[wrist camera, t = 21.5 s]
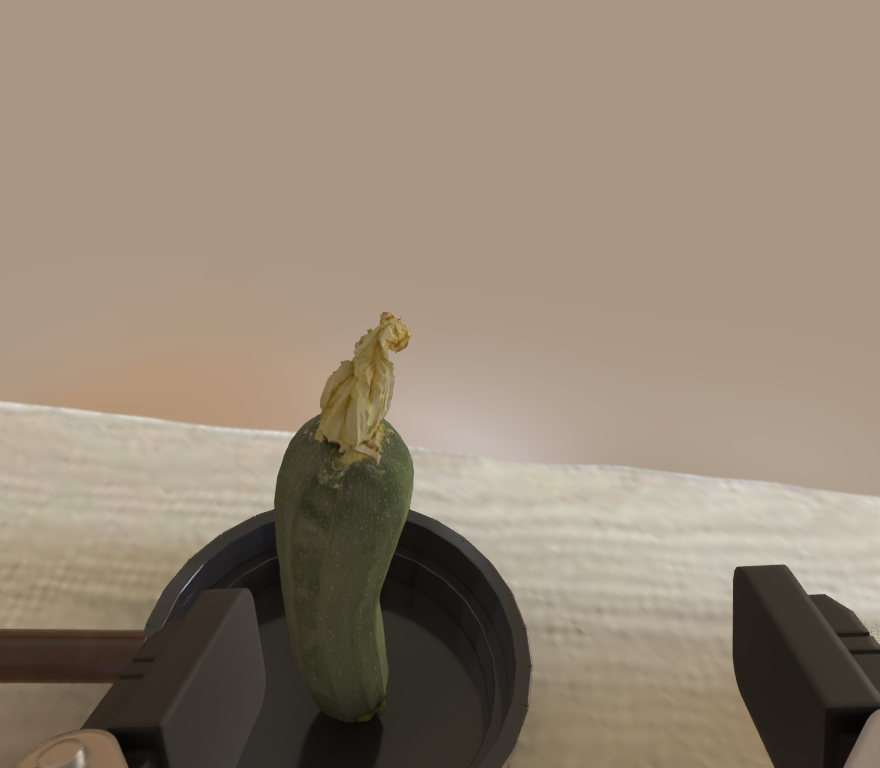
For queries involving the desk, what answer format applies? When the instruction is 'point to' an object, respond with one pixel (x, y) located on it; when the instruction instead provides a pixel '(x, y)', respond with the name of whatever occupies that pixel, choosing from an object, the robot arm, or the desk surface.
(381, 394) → the vegetable
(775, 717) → the robot arm
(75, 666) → the pan handle
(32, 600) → the desk surface
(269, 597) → the pan
